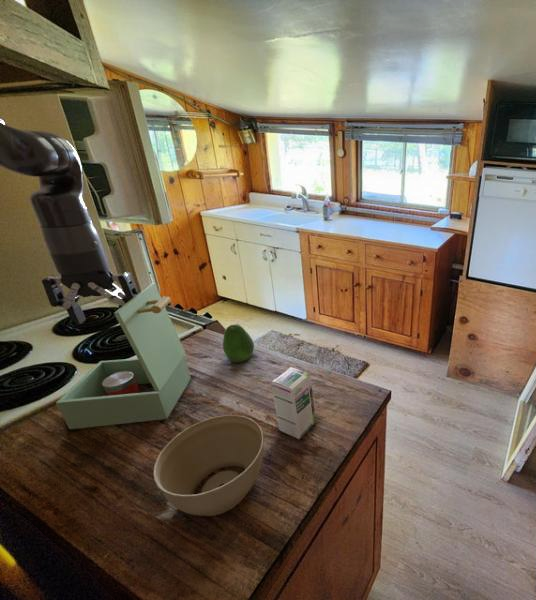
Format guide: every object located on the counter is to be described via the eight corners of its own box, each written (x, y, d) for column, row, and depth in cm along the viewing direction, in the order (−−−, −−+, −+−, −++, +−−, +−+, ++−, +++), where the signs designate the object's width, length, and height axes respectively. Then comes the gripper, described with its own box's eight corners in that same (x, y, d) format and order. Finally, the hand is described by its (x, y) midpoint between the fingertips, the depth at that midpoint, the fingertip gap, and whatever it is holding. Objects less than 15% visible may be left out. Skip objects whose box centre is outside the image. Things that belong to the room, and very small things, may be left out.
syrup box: (299, 442, 70) (293, 389, 63) (278, 433, 72) (270, 380, 66) (316, 424, 74) (311, 373, 68) (296, 415, 76) (290, 365, 70)
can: (106, 412, 74) (95, 388, 71) (120, 395, 79) (110, 372, 76) (134, 409, 75) (125, 385, 72) (146, 393, 80) (138, 370, 77)
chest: (71, 432, 69) (55, 402, 66) (111, 387, 82) (99, 361, 79) (168, 422, 73) (158, 393, 70) (191, 380, 86) (184, 354, 83)
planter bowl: (203, 562, 49) (187, 518, 44) (153, 503, 57) (134, 460, 52) (289, 481, 61) (282, 440, 57) (238, 441, 69) (228, 402, 65)
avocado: (220, 364, 93) (212, 327, 88) (242, 350, 100) (235, 315, 95) (241, 371, 90) (233, 334, 85) (262, 357, 97) (256, 322, 92)
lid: (113, 312, 61) (143, 308, 62) (150, 283, 74) (175, 280, 75) (155, 392, 69) (181, 387, 70) (182, 353, 82) (204, 350, 83)
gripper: (128, 241, 67) (150, 310, 74) (44, 242, 64) (75, 315, 71) (109, 251, 61) (135, 326, 68) (14, 254, 57) (52, 332, 64)
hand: (104, 320), depth 69 cm, fingers open, 8 cm apart
